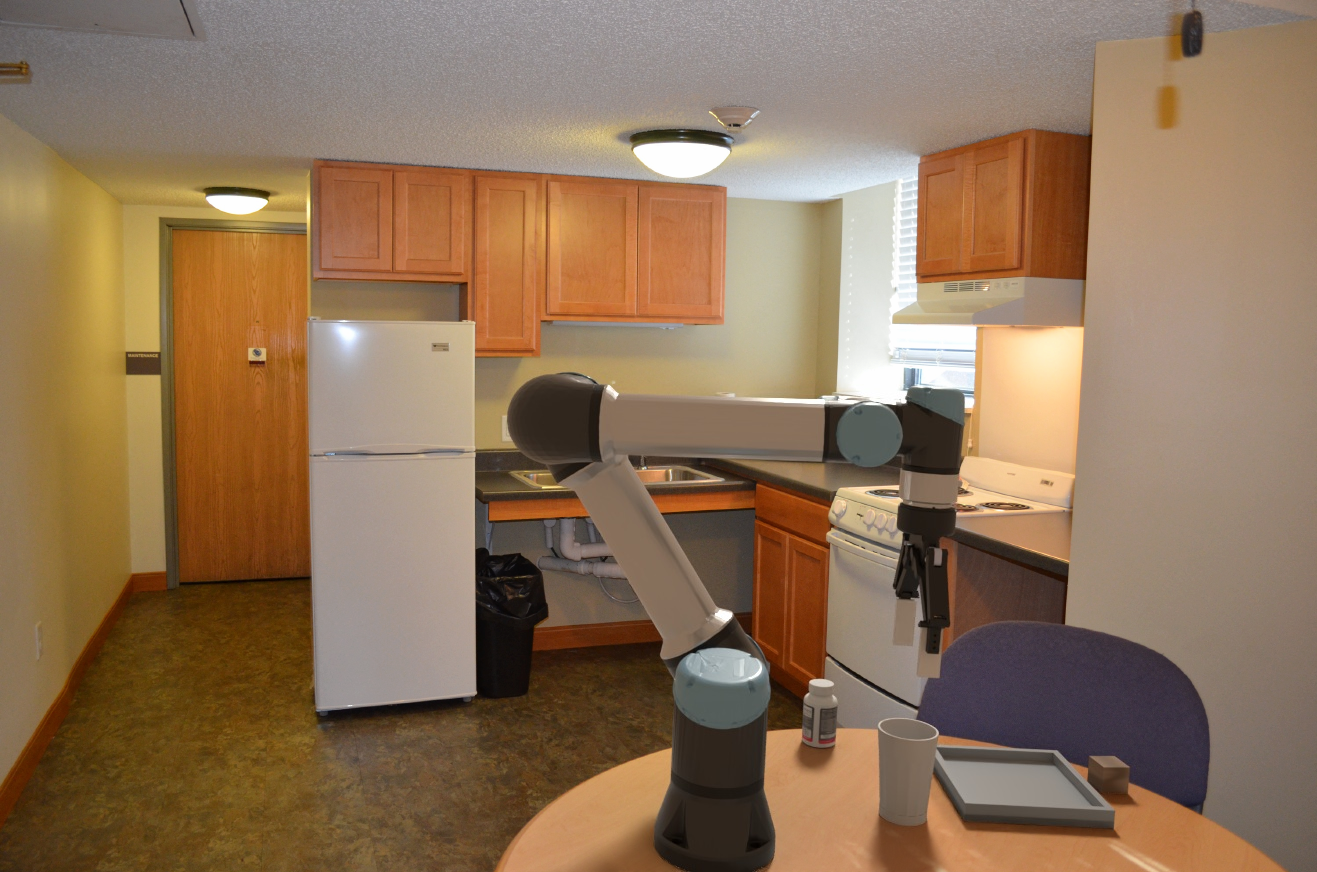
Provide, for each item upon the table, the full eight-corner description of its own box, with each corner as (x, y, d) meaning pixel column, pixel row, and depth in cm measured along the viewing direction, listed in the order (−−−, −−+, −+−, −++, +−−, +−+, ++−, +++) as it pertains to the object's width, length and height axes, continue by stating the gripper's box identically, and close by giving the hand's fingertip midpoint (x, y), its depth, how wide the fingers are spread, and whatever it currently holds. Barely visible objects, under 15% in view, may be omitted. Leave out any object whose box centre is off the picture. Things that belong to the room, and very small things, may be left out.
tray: (964, 820, 130) (965, 802, 130) (926, 759, 150) (927, 743, 150) (1113, 828, 130) (1115, 810, 130) (1056, 765, 150) (1057, 750, 150)
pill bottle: (836, 738, 157) (840, 679, 157) (834, 750, 152) (837, 690, 152) (803, 733, 159) (806, 675, 158) (799, 745, 154) (802, 685, 153)
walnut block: (1101, 793, 141) (1103, 767, 141) (1087, 781, 145) (1089, 755, 145) (1127, 793, 141) (1130, 767, 141) (1112, 781, 145) (1114, 755, 145)
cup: (935, 832, 127) (941, 743, 126) (873, 824, 128) (878, 736, 127) (930, 805, 135) (936, 721, 134) (872, 797, 136) (877, 714, 135)
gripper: (986, 520, 116) (971, 693, 117) (931, 491, 141) (919, 634, 142) (923, 517, 116) (909, 689, 118) (879, 488, 141) (868, 631, 142)
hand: (914, 660), depth 130 cm, fingers open, 13 cm apart
